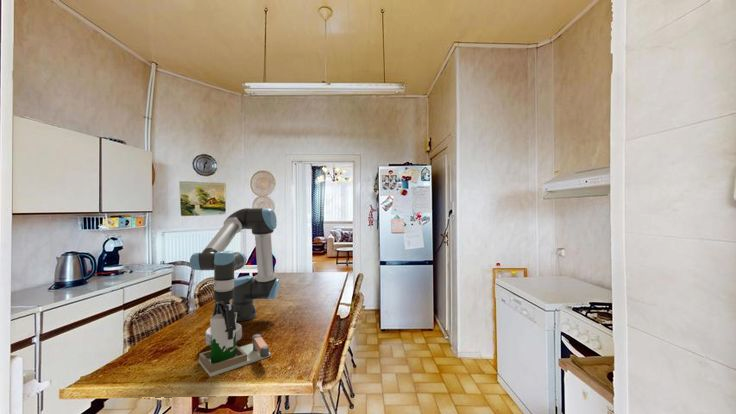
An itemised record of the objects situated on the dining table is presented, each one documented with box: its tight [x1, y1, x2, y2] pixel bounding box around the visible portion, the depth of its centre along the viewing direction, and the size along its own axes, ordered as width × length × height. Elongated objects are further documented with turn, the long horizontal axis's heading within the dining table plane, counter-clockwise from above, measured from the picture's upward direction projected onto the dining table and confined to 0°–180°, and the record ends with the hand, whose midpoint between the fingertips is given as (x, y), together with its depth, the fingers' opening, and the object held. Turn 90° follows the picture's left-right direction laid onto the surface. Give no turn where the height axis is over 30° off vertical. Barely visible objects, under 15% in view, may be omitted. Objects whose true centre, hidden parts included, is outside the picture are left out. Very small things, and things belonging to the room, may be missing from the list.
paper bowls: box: [205, 322, 243, 346], centre depth 141 cm, size 15×15×8 cm
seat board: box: [198, 343, 272, 378], centre depth 128 cm, size 15×24×4 cm, turn 134°
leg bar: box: [251, 333, 270, 358], centre depth 128 cm, size 17×4×3 cm, turn 33°
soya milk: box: [209, 309, 237, 364], centre depth 125 cm, size 9×9×20 cm
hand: (223, 341), depth 124 cm, fingers open, 13 cm apart
